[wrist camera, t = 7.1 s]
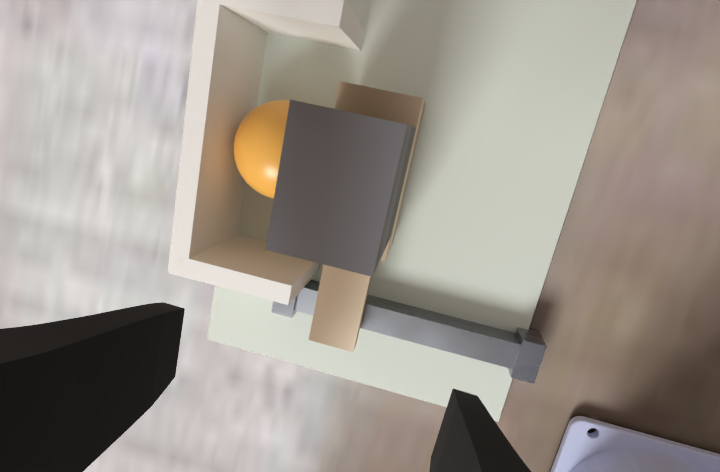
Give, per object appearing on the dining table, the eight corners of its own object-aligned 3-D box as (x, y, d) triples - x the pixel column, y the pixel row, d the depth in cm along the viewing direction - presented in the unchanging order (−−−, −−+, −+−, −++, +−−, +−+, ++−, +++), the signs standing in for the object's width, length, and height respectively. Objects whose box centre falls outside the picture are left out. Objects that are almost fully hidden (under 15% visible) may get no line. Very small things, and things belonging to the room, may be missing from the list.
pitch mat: (636, -5, 17) (638, -7, 17) (497, 419, 22) (498, 421, 22) (265, -69, 19) (263, -72, 19) (208, 337, 24) (207, 339, 24)
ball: (281, 98, 16) (221, 85, 18) (263, 212, 16) (209, 184, 19) (361, 116, 18) (300, 103, 21) (342, 211, 19) (285, 188, 22)
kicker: (425, 104, 19) (416, 82, 11) (371, 333, 22) (332, 453, 13) (355, 89, 19) (297, 57, 11) (311, 317, 22) (236, 424, 14)
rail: (538, 330, 21) (546, 346, 19) (526, 365, 21) (534, 383, 20) (288, 266, 22) (277, 276, 21) (282, 300, 23) (271, 312, 21)
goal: (365, 31, 19) (344, 0, 15) (317, 271, 22) (288, 305, 17) (252, 9, 20) (200, -27, 15) (220, 246, 22) (167, 272, 18)
